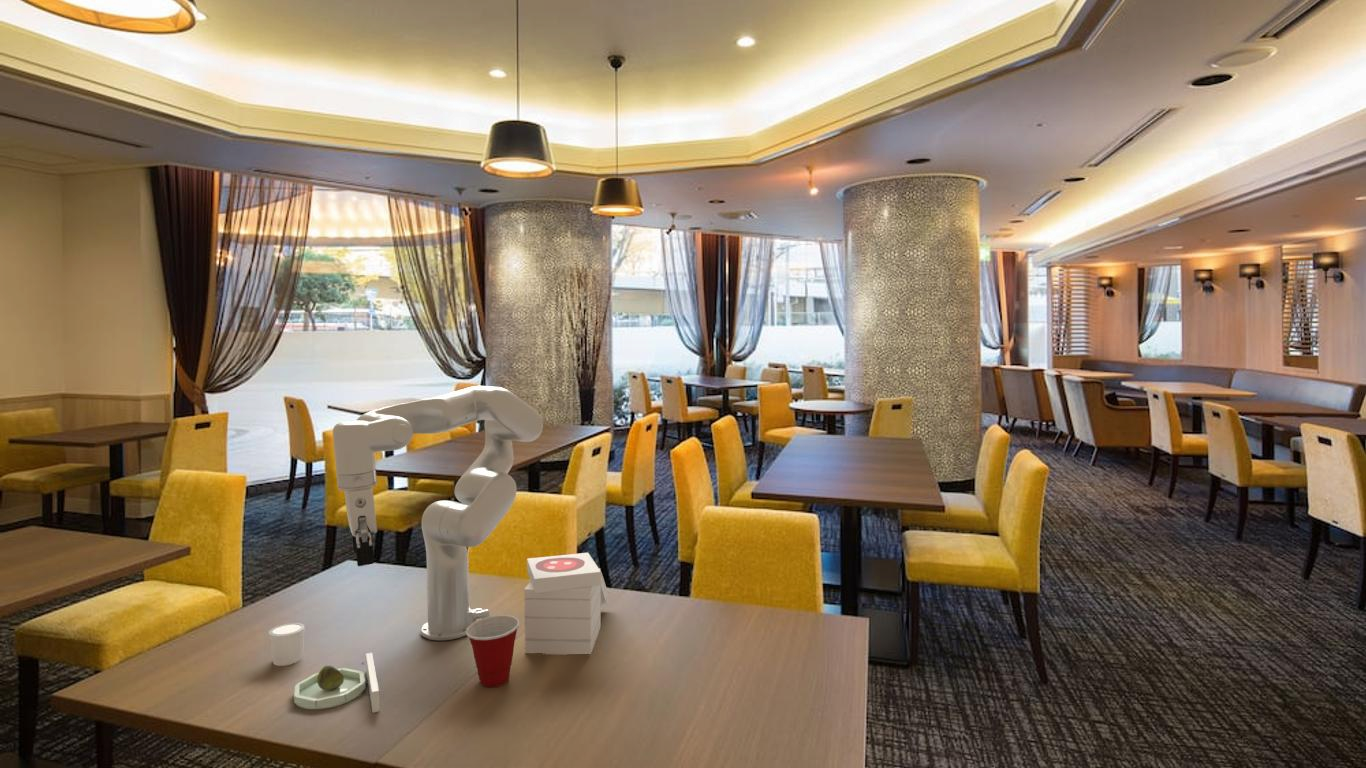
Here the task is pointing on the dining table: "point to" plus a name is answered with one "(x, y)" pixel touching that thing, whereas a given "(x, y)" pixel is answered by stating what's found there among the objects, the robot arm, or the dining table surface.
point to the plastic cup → (493, 647)
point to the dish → (329, 691)
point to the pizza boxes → (563, 604)
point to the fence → (372, 682)
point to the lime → (329, 678)
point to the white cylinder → (287, 643)
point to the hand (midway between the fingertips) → (363, 557)
